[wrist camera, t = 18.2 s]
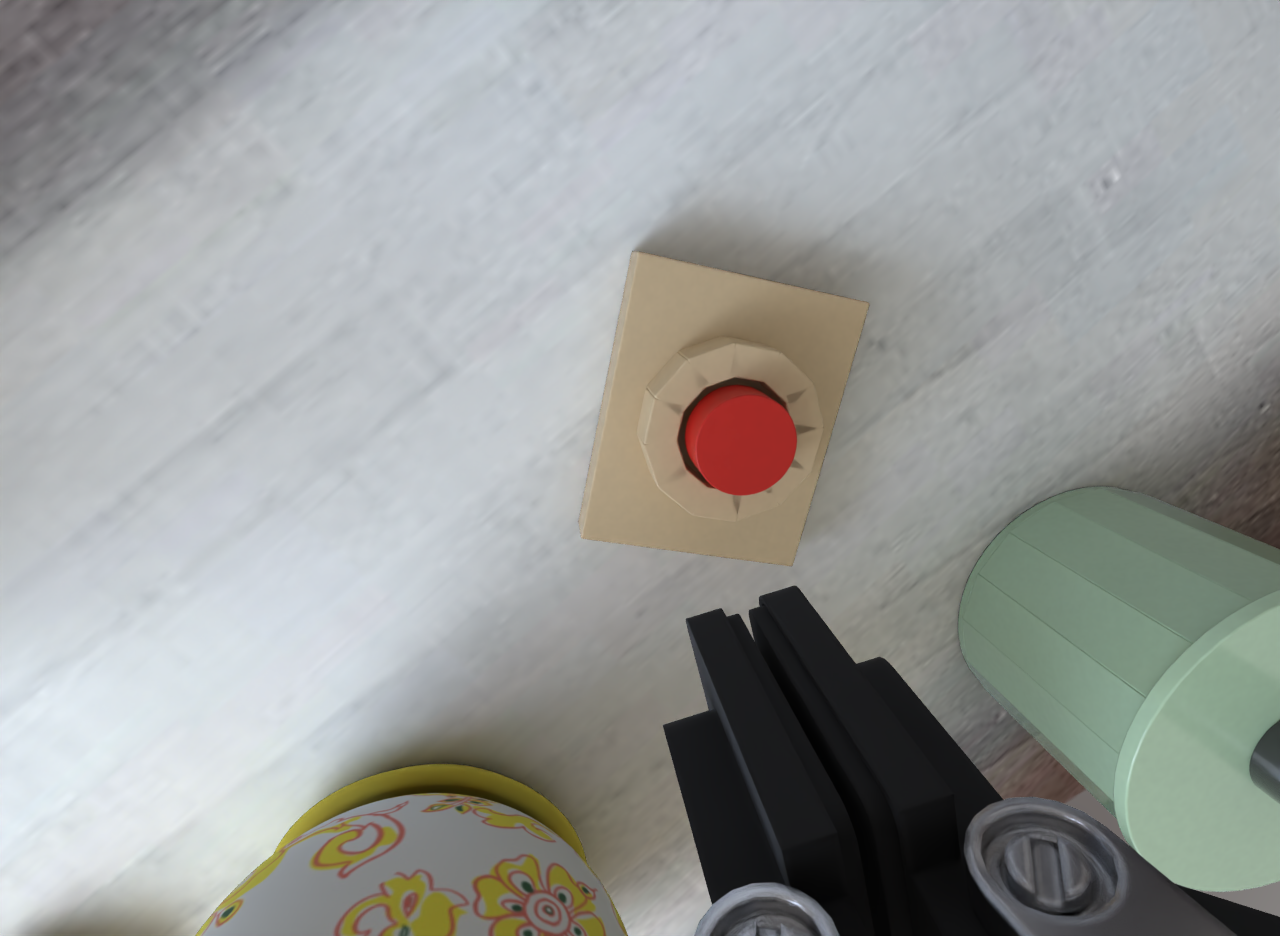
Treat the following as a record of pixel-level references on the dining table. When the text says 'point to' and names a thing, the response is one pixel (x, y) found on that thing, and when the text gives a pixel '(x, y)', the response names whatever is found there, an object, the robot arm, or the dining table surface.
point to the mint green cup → (1099, 614)
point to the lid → (1210, 759)
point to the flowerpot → (424, 865)
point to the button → (740, 440)
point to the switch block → (685, 373)
